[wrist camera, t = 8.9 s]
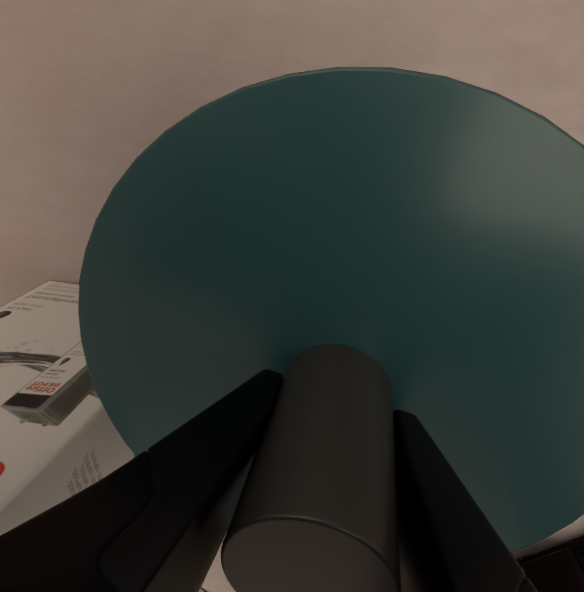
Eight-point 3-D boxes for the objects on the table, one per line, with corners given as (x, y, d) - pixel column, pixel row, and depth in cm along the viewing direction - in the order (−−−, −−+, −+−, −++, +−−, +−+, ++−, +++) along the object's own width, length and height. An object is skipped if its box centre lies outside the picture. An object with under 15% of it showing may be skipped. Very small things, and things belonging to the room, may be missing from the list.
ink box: (207, 296, 19) (-4, 529, 9) (212, 380, 21) (49, 649, 11) (44, 276, 20) (-308, 457, 10) (65, 357, 22) (-208, 576, 12)
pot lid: (776, 395, 8) (1276, 757, 4) (337, 583, 13) (316, 824, 9) (345, -120, 6) (252, -745, 2) (31, 339, 12) (-195, 489, 7)
